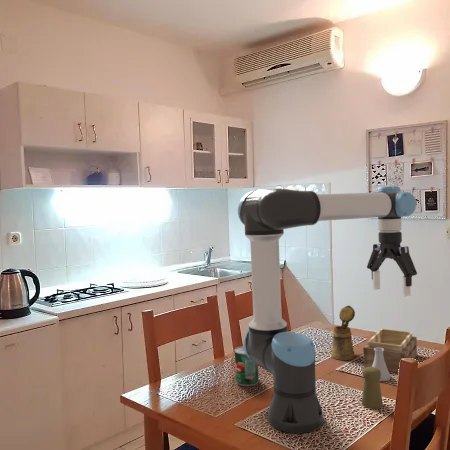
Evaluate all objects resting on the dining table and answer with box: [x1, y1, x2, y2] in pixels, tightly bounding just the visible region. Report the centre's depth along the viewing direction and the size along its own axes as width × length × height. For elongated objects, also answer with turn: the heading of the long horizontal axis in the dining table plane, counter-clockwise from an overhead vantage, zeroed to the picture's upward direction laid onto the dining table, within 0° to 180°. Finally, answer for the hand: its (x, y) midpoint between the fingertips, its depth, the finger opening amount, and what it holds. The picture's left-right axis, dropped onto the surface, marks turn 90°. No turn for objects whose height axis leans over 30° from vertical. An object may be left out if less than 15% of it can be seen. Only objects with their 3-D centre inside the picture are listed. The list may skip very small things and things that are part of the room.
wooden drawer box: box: [362, 335, 418, 373], centre depth 172 cm, size 21×14×7 cm, turn 147°
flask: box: [372, 348, 391, 382], centre depth 156 cm, size 7×7×10 cm
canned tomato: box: [234, 345, 260, 387], centre depth 158 cm, size 8×8×11 cm
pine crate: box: [367, 328, 413, 352], centre depth 172 cm, size 18×12×8 cm, turn 147°
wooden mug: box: [330, 305, 356, 361], centre depth 180 cm, size 9×14×18 cm, turn 147°
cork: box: [361, 367, 384, 410], centre depth 137 cm, size 6×6×11 cm
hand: (391, 292), depth 160 cm, fingers open, 13 cm apart
